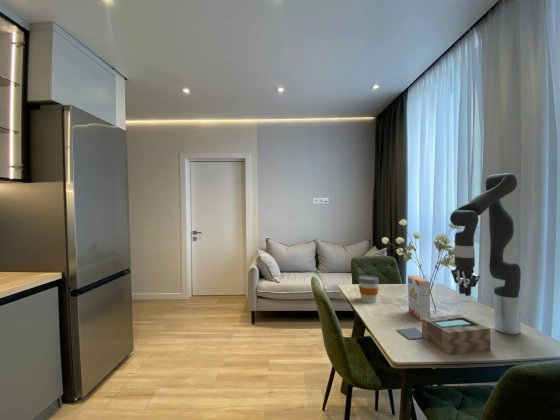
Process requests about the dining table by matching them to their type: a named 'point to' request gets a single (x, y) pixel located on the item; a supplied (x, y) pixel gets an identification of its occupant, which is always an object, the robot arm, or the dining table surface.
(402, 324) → the dining table surface
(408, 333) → the grey mat
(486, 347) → the board
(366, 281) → the reusable coffee cup
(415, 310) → the cracker box
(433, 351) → the dining table surface
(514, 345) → the dining table surface
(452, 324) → the teal block
